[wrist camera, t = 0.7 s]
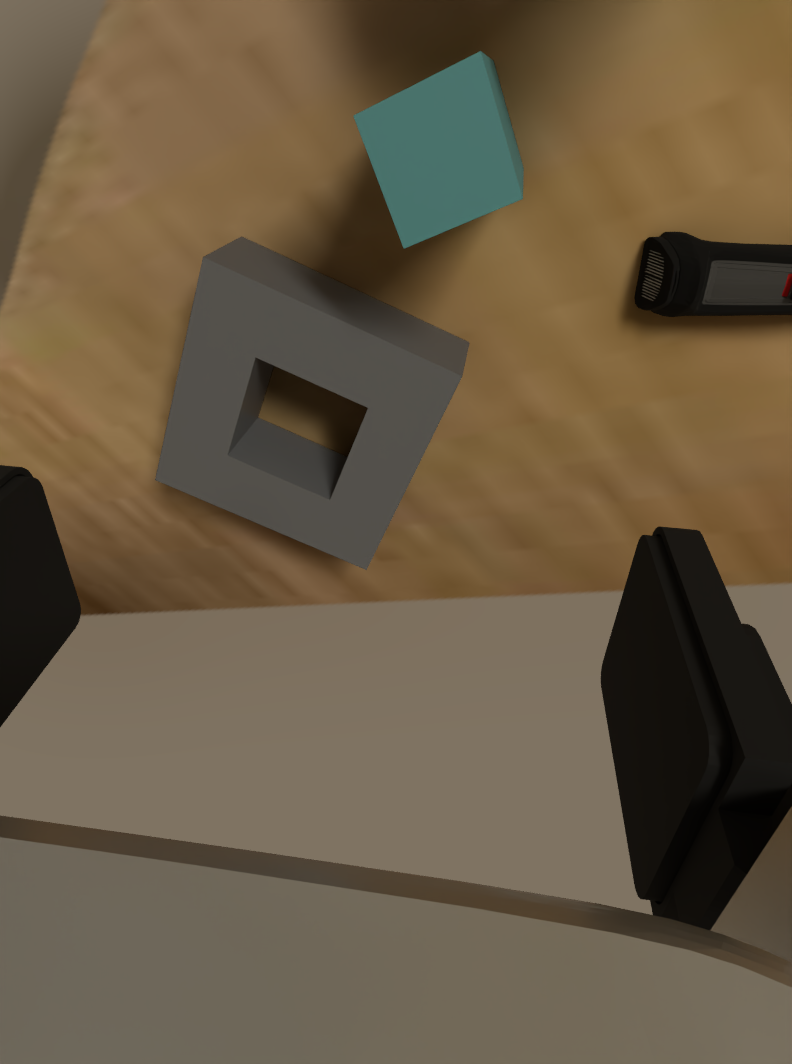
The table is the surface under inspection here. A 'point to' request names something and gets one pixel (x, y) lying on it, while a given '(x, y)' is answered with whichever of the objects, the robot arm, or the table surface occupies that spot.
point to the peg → (444, 150)
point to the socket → (323, 359)
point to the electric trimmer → (713, 277)
